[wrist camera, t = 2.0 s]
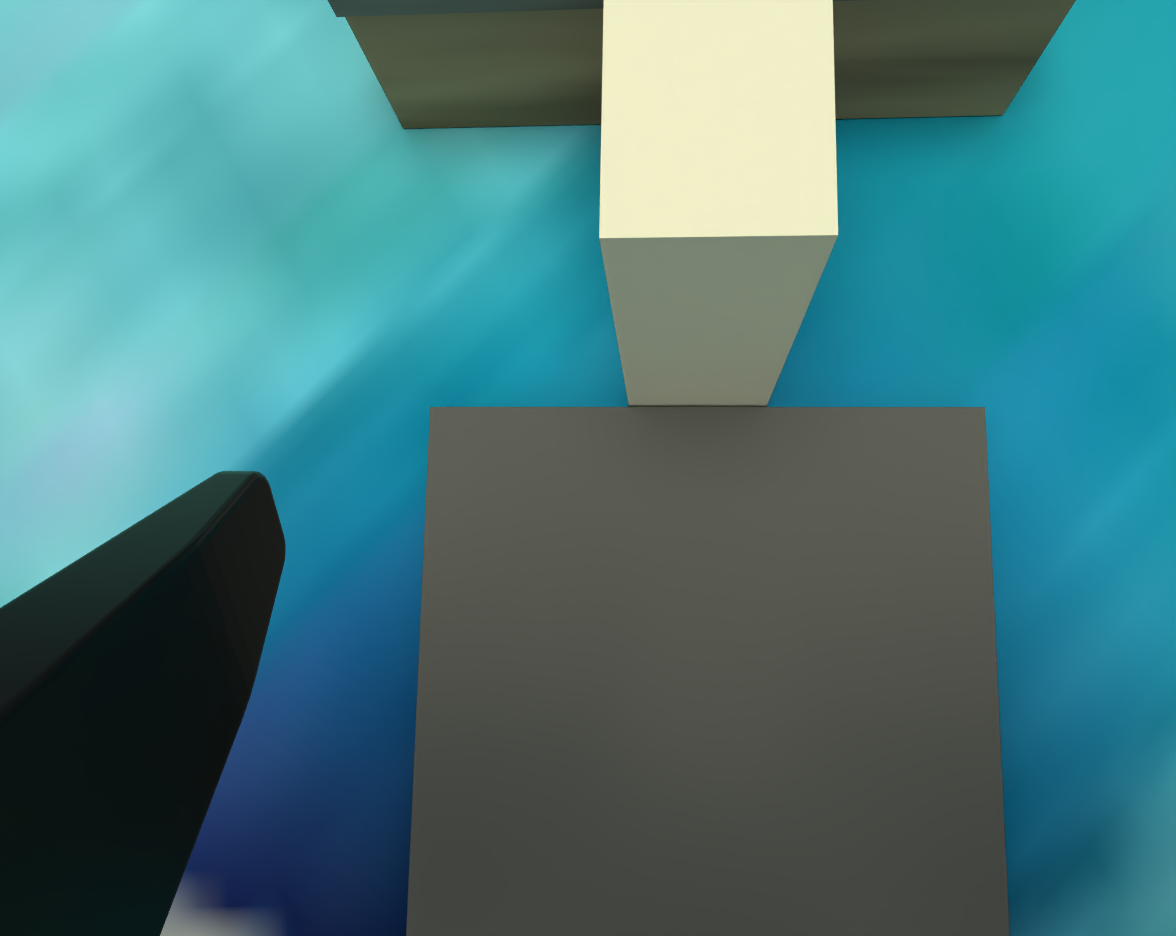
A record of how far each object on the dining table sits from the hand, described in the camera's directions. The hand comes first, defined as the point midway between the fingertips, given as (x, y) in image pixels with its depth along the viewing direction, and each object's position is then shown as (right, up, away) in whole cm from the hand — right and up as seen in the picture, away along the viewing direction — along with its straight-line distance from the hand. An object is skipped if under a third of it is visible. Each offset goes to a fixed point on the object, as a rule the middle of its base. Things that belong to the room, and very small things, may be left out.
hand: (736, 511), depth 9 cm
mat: (+1, -4, +12) cm, 13 cm away
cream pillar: (+1, +5, +14) cm, 15 cm away
